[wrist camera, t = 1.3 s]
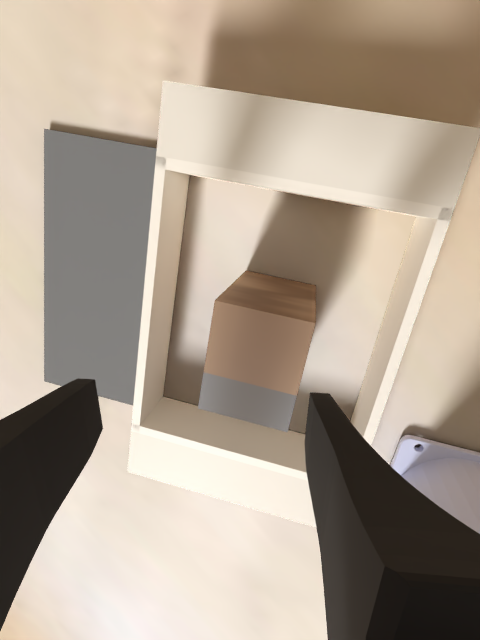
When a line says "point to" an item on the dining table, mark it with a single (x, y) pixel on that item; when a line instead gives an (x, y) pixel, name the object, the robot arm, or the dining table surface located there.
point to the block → (258, 349)
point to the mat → (95, 259)
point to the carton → (301, 179)
